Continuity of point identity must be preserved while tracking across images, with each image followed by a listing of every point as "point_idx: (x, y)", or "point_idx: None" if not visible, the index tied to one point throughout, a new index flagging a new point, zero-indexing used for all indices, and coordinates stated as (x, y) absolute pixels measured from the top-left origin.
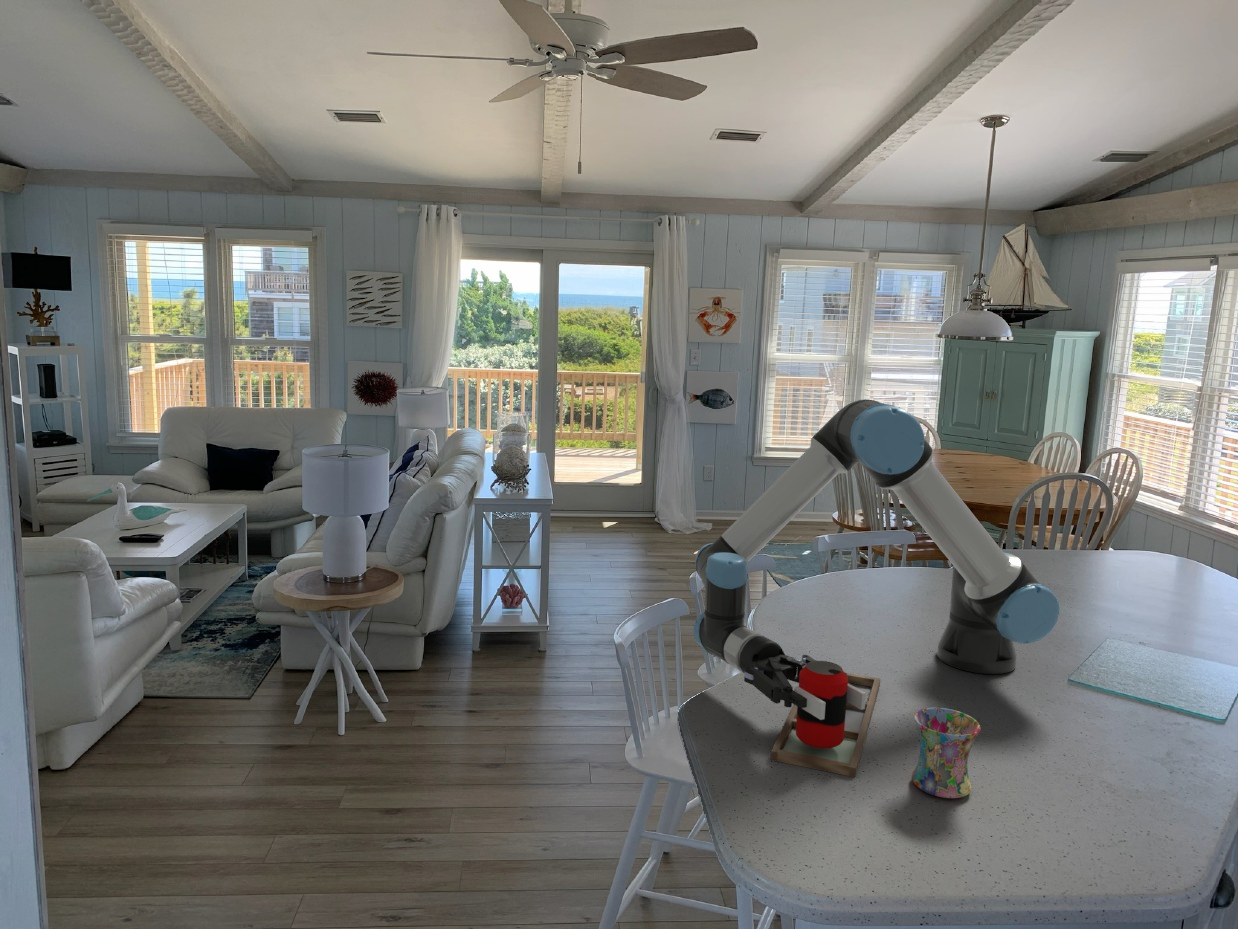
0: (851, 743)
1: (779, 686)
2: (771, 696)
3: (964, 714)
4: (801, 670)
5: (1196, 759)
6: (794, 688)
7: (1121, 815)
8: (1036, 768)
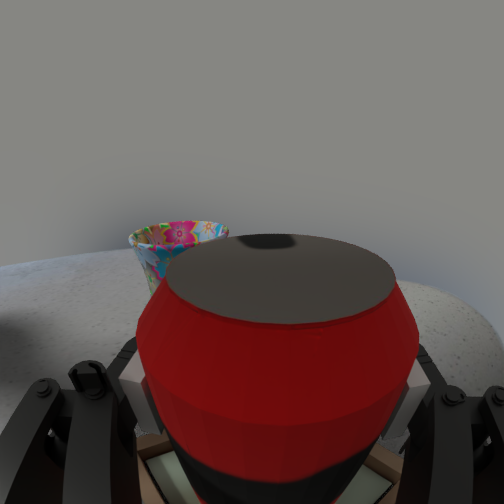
0: (173, 459)
1: (491, 404)
2: (490, 444)
3: (135, 232)
4: (400, 358)
5: (18, 268)
6: (427, 387)
7: (123, 266)
8: (73, 303)
